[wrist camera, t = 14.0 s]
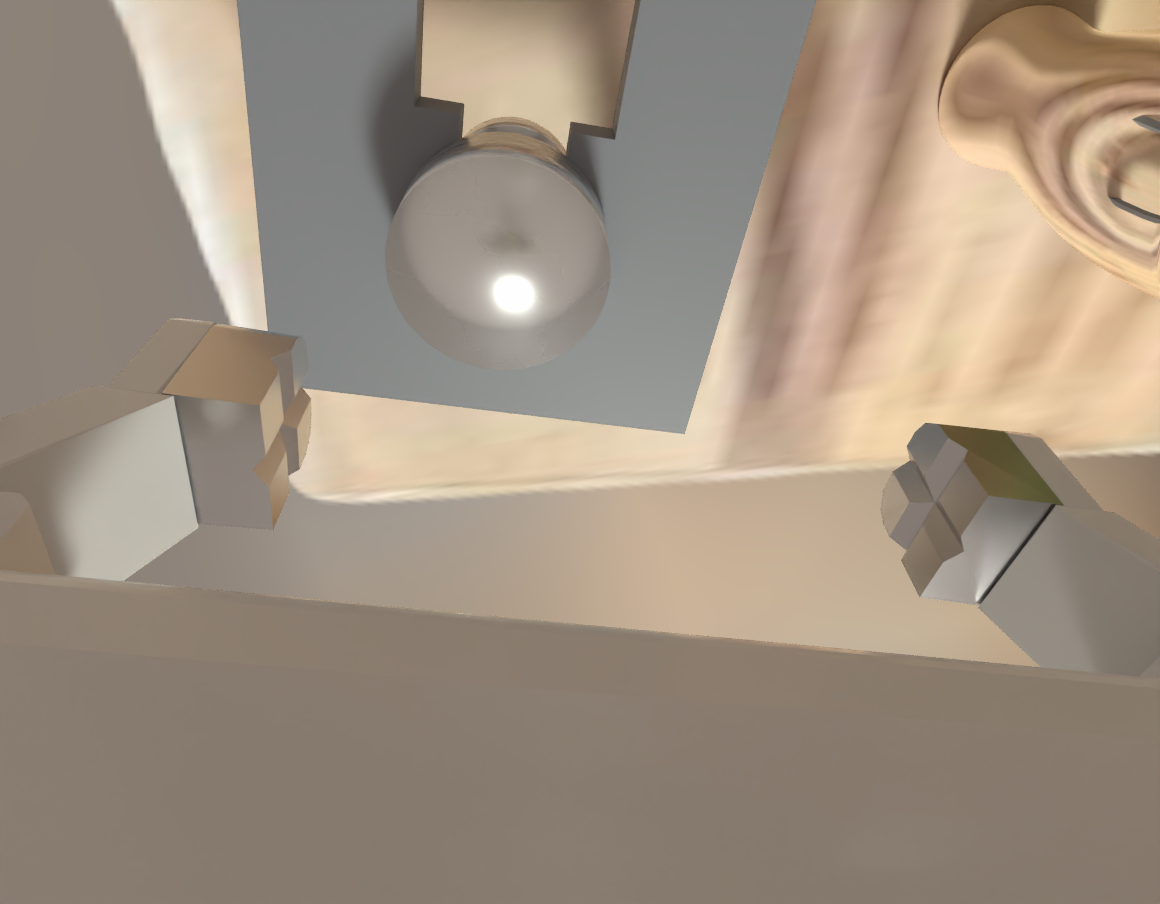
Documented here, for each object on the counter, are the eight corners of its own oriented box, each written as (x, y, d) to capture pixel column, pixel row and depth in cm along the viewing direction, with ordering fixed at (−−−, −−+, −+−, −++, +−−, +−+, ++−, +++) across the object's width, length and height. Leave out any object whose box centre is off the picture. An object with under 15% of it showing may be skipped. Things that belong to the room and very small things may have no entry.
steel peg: (428, 75, 24) (386, 137, 18) (612, 107, 25) (631, 177, 19) (421, 253, 27) (383, 355, 21) (582, 276, 28) (590, 382, 22)
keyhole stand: (342, -296, 24) (197, -425, 14) (765, -200, 25) (894, -257, 16) (351, 246, 34) (272, 384, 25) (649, 289, 36) (684, 433, 26)
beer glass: (1038, 189, 34) (1309, 354, 22) (897, 156, 32) (1098, 310, 20) (1139, 14, 29) (1540, 98, 17) (981, -30, 28) (1292, 28, 16)
